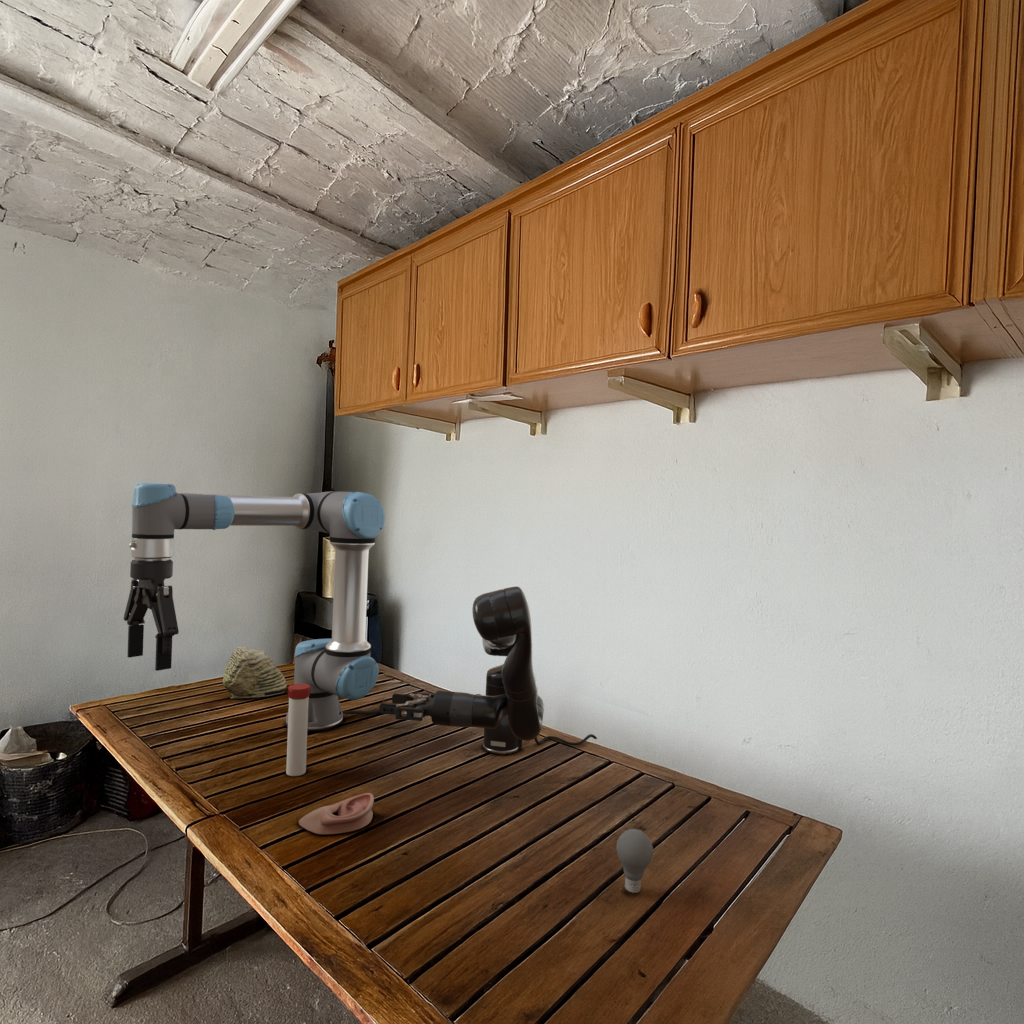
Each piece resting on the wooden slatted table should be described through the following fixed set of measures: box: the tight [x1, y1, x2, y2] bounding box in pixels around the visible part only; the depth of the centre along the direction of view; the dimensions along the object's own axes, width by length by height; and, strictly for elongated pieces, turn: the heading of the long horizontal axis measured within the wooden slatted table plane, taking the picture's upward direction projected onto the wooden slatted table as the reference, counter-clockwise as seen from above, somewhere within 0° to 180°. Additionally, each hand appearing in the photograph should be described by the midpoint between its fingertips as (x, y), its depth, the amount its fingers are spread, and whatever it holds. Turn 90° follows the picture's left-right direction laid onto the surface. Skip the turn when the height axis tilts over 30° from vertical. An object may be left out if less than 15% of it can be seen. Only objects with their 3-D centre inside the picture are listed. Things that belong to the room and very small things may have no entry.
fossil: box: [222, 646, 288, 699], centre depth 198 cm, size 9×18×15 cm, turn 132°
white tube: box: [285, 697, 309, 777], centre depth 145 cm, size 4×4×19 cm
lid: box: [287, 683, 310, 699], centre depth 145 cm, size 5×5×2 cm
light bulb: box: [615, 828, 654, 894], centre depth 106 cm, size 6×6×10 cm
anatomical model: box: [298, 792, 375, 835], centre depth 124 cm, size 13×4×12 cm
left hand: (148, 662), depth 129 cm, fingers open, 13 cm apart
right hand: (386, 703), depth 146 cm, fingers open, 8 cm apart
